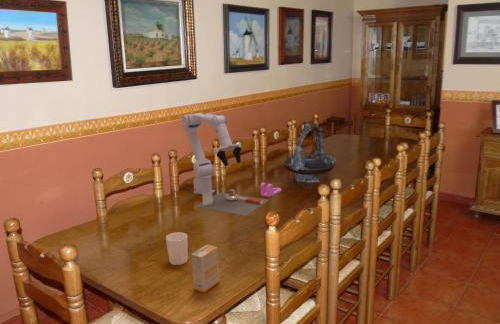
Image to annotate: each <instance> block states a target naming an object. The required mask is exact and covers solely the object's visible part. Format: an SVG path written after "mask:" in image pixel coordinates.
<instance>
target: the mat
mask: <svg viewBox="0 0 500 324" xmlns="http://www.w3.org/2000/svg"><path fill="white" fill-rule="evenodd" d="M227 194H229V192H228V193H226V192H221V191H220V192H219V193H216V194H215V195H213V206H205V207H203V201H201V202H200V203H197V204H196V205H194V207H195V208H201V209H206V210H207V209H208V210H211V211H217V212H223V213H229V214H235V215H240V216H248V215H249V214H251V213H252V212H254V211H255V210H257V209H258V208H260V207H261V206H263V205H265V204H266V203H267V202H269V200H270V199H267V198H266V199H265V198H262V199H263V204H261V205H256V204H250V203H245V202H239V201H233V202H230V201H226V195H227ZM238 195H239V197H245V198H249V197H250V198H256V199H261V198H260V197H259V198H258V197H253V196H248V195H240V194H238Z"/></svg>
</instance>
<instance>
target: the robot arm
mask: <svg viewBox="0 0 500 324" xmlns="http://www.w3.org/2000/svg"><path fill="white" fill-rule="evenodd" d="M227 122H228V121H227V117H226V116H225V115H223V114H219V115H217V114H216V113H215V114H213V113H212V112H208V113H206V114H204V113H202V112H196V113H189V114H183V115H182V117H181V123H182V126H183V130H184V132H186V134H187V137H188V141H189V143H190V146H191V150H192V153H193V156H194V158H195V163H194V164H193V166H192V167H193V173H194V175H195V176H194V179H193V194H198V195H203V194H210V193H213V194H214V192H216V190H215V189H213V188H212V187H213V186H212V185H213V184H212V183H213V182H212V177H213V174H214V173H215V168H214V165H213V164H212V163H211V160H210V159H208V158H206V156H205V152H204V150H203V147H202V145H201V140H200V137H199V135H198V133H197V131H198V130H199V129H200V127H201V125H202V124H203V123H204V124H205V125H208V126H210V127H212V128H213V131H215V133H216V136H217V138H218V139H217V140H218V143H219V145H220V147H218V148H215V149H213V150H214V154H216V158H218V159H220V162H221V163H222V164H223V165H224V166H225V167H228V166H229V162H228V159H227V156H226V152H227V151H231V150H233V151H232V154H233V156H234V158H235V160H236V163H237V164H240V163H241V161H242V160H241V151H242V146H241V144H240V143H235V144H233V142H232V139H231V136H230V133H229V131H228V127H227Z"/></svg>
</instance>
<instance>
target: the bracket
mask: <svg viewBox="0 0 500 324" xmlns="http://www.w3.org/2000/svg"><path fill="white" fill-rule="evenodd" d="M279 193H282V188H280V187H274V185H273V183H268V184H267V182H261V184H260V196H263V197H268V198H271V197H272V196H274V195H277V194H279Z"/></svg>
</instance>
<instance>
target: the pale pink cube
mask: <svg viewBox="0 0 500 324" xmlns="http://www.w3.org/2000/svg"><path fill="white" fill-rule="evenodd" d="M213 196H214V192H213V193H210V194H202V202H203V207H205V206H213Z"/></svg>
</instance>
